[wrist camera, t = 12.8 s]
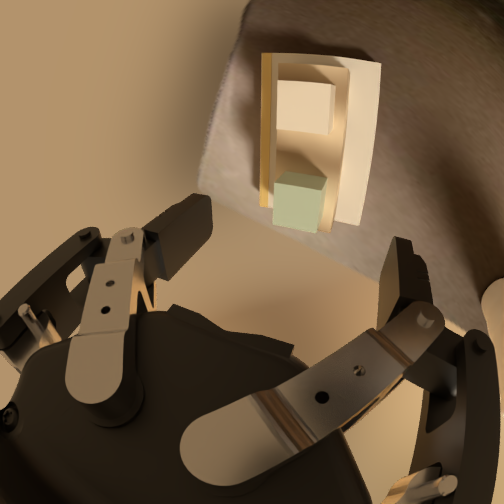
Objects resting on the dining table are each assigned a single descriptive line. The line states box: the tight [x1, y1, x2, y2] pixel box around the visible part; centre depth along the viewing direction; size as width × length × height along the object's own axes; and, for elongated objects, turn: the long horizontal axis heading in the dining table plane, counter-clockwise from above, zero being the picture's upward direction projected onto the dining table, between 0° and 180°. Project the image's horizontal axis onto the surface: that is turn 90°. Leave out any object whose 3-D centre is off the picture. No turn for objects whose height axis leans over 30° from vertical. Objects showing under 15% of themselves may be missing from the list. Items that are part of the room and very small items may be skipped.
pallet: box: [275, 63, 350, 233], centre depth 25 cm, size 16×6×4 cm, turn 0°
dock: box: [259, 53, 381, 226], centre depth 27 cm, size 18×12×3 cm, turn 0°
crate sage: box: [273, 171, 328, 233], centre depth 24 cm, size 4×4×4 cm
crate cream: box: [276, 80, 336, 135], centre depth 19 cm, size 4×4×4 cm
